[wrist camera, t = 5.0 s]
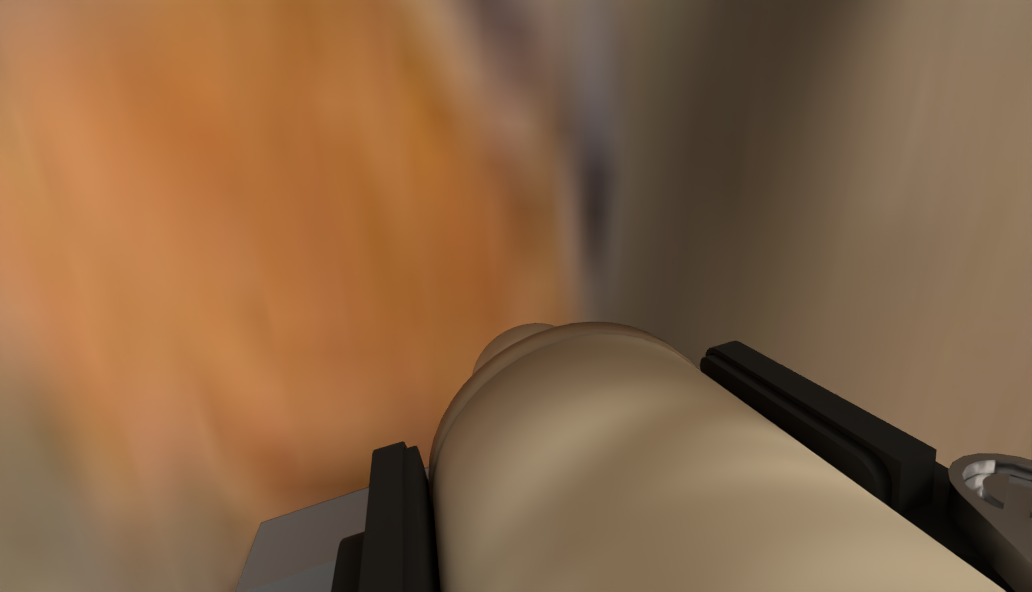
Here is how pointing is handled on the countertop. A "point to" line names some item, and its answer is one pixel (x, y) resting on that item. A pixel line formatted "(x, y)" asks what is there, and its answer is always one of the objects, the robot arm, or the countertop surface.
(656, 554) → the peg
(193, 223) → the countertop surface
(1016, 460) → the robot arm
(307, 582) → the seat block
